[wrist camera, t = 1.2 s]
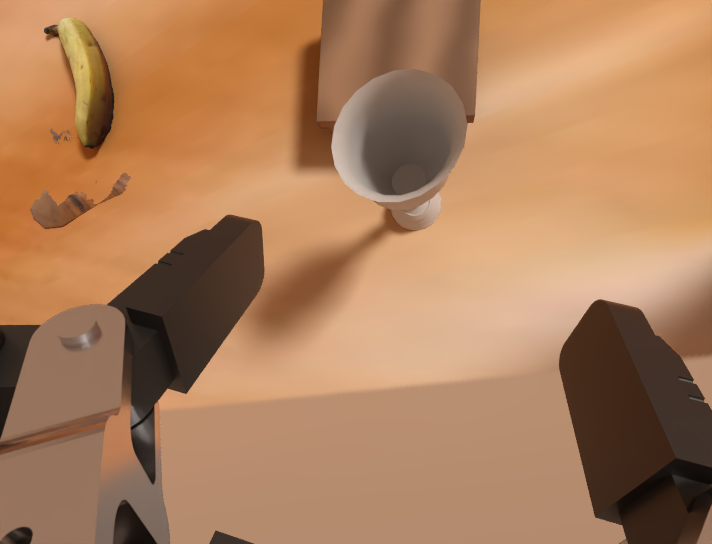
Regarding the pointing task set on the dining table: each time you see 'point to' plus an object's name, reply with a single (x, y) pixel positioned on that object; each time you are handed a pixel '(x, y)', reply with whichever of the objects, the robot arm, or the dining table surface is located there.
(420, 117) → the chalice
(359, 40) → the square lamp base
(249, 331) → the dining table surface
